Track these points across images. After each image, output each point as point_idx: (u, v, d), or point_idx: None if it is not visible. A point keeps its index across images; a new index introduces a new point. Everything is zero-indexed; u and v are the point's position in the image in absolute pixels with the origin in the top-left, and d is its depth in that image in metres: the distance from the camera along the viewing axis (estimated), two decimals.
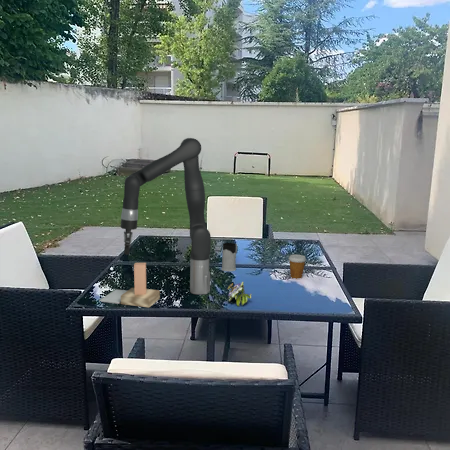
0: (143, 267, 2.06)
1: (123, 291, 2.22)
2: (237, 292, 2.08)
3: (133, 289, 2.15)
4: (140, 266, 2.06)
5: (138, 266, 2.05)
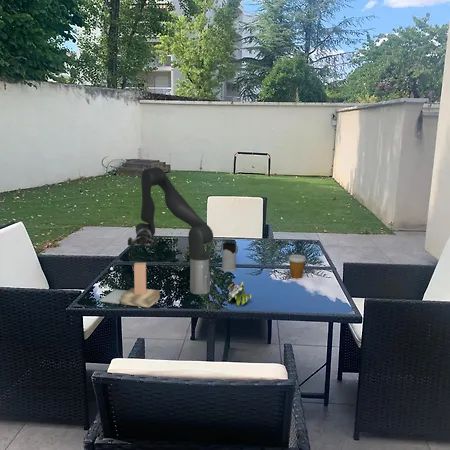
0: (143, 267, 2.06)
1: (123, 291, 2.22)
2: (237, 292, 2.08)
3: (133, 289, 2.15)
4: (140, 266, 2.06)
5: (138, 266, 2.05)
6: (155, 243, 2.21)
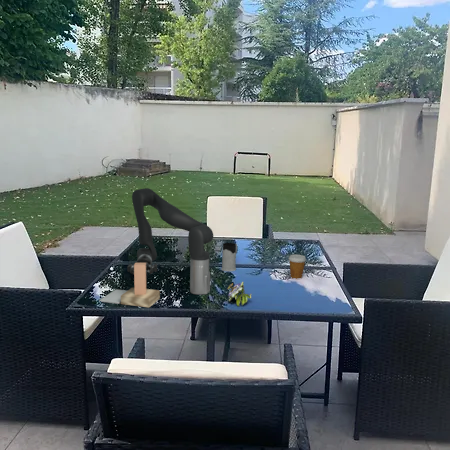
0: (143, 267, 2.06)
1: (123, 291, 2.22)
2: (237, 292, 2.08)
3: (133, 289, 2.15)
4: (140, 266, 2.06)
5: (138, 266, 2.05)
6: (155, 269, 2.20)
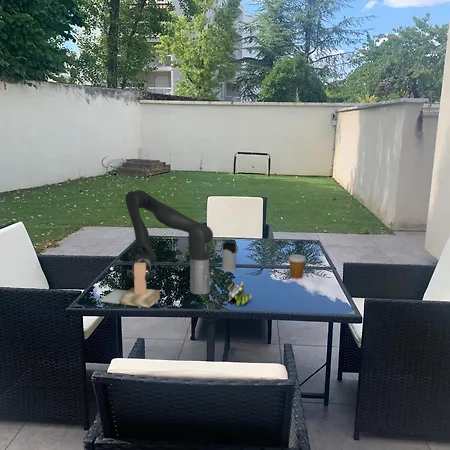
0: (143, 267, 2.06)
1: (123, 291, 2.22)
2: (237, 292, 2.08)
3: (133, 289, 2.15)
4: (140, 266, 2.06)
5: (138, 266, 2.05)
6: (150, 275, 2.11)
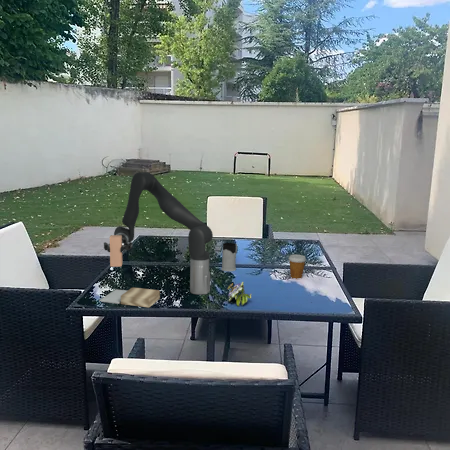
0: (118, 239, 2.09)
1: (123, 291, 2.22)
2: None
3: (133, 289, 2.15)
4: (115, 238, 2.08)
5: (113, 238, 2.08)
6: (126, 248, 2.13)
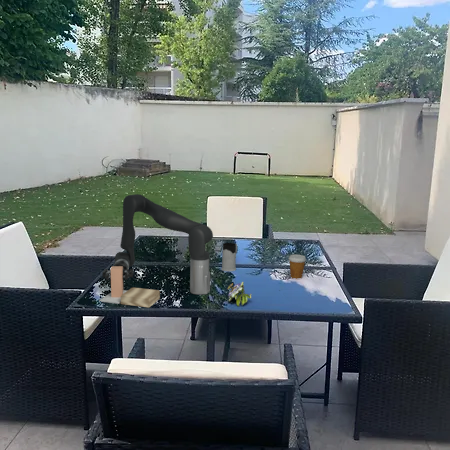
0: (119, 270, 2.12)
1: (123, 291, 2.22)
2: (237, 292, 2.08)
3: (133, 289, 2.15)
4: (116, 270, 2.11)
5: (114, 270, 2.11)
6: (130, 275, 2.17)
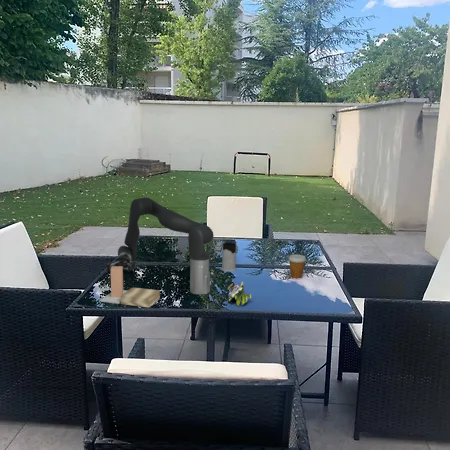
0: (119, 271, 2.11)
1: (123, 291, 2.22)
2: (237, 292, 2.08)
3: (133, 289, 2.15)
4: (116, 270, 2.11)
5: (114, 270, 2.11)
6: (133, 267, 2.30)
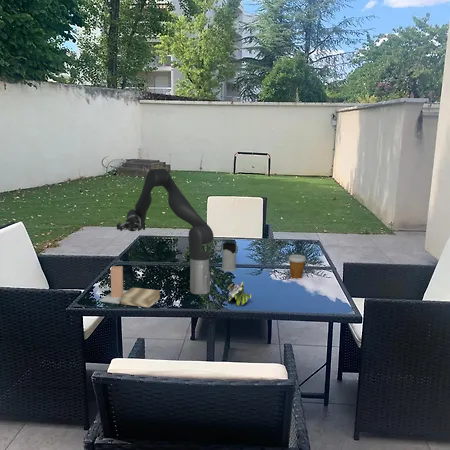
0: (119, 271, 2.11)
1: (123, 291, 2.22)
2: (237, 292, 2.08)
3: (133, 289, 2.15)
4: (116, 270, 2.11)
5: (114, 270, 2.11)
6: (143, 227, 2.30)
